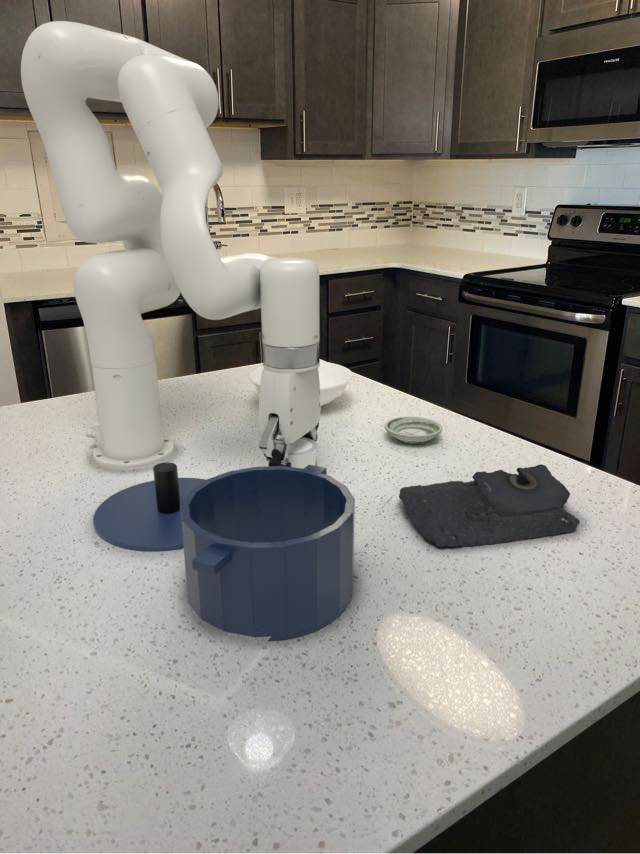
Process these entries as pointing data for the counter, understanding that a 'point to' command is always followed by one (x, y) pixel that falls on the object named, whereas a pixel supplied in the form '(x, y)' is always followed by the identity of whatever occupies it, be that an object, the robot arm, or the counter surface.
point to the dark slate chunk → (490, 508)
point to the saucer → (413, 429)
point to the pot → (269, 550)
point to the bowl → (329, 377)
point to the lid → (146, 512)
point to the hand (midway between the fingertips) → (293, 476)
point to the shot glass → (301, 452)
